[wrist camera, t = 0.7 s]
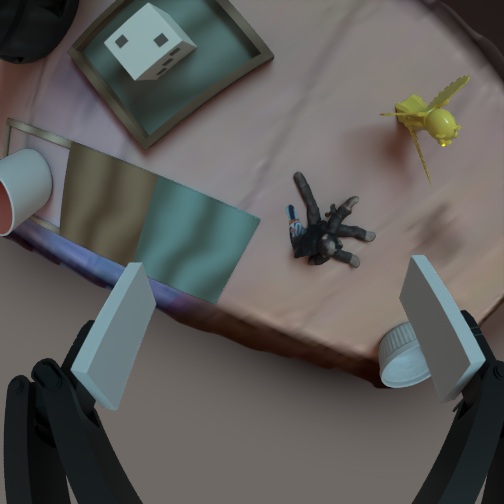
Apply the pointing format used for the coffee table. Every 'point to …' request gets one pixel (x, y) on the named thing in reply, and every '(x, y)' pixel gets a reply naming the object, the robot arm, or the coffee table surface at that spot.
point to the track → (146, 220)
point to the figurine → (430, 116)
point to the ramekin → (401, 358)
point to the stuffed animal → (323, 230)
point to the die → (149, 43)
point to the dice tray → (178, 76)
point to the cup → (22, 187)
